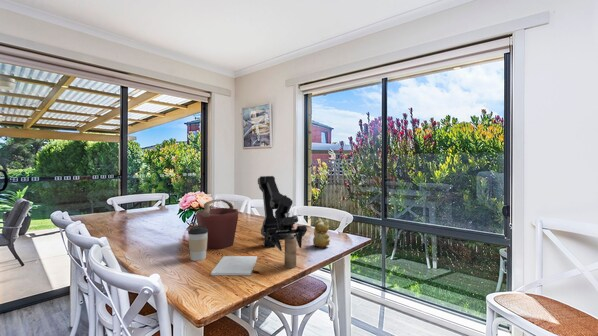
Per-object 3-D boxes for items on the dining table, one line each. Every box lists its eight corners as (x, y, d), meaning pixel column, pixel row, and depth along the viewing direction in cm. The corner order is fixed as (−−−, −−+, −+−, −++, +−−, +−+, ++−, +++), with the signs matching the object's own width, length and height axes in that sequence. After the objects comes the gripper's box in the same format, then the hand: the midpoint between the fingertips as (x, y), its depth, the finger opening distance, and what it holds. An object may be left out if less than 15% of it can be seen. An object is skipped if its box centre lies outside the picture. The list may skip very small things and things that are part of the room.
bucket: (210, 254, 139) (210, 204, 139) (185, 246, 152) (185, 200, 152) (247, 243, 159) (247, 199, 158) (222, 236, 172) (222, 195, 171)
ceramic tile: (223, 258, 134) (223, 256, 134) (257, 258, 134) (257, 256, 134) (210, 275, 114) (210, 272, 114) (250, 275, 114) (250, 272, 114)
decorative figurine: (332, 246, 153) (332, 218, 153) (325, 250, 146) (325, 221, 146) (316, 243, 158) (316, 217, 158) (309, 247, 151) (309, 219, 151)
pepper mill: (284, 264, 127) (284, 232, 126) (296, 264, 127) (296, 232, 126) (284, 268, 121) (284, 235, 121) (296, 268, 122) (296, 235, 121)
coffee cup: (188, 256, 136) (188, 225, 136) (207, 254, 139) (207, 224, 139) (187, 262, 128) (187, 229, 127) (208, 260, 131) (208, 228, 131)
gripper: (267, 210, 124) (274, 241, 114) (305, 208, 131) (315, 237, 121) (262, 224, 132) (269, 255, 122) (299, 221, 139) (308, 250, 129)
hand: (291, 249), depth 123 cm, fingers open, 9 cm apart
